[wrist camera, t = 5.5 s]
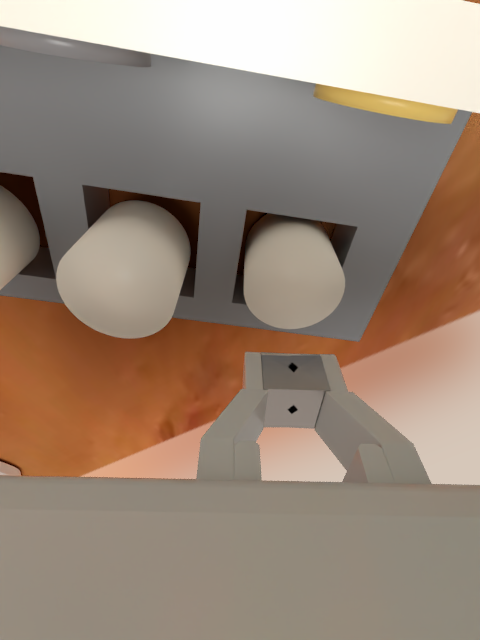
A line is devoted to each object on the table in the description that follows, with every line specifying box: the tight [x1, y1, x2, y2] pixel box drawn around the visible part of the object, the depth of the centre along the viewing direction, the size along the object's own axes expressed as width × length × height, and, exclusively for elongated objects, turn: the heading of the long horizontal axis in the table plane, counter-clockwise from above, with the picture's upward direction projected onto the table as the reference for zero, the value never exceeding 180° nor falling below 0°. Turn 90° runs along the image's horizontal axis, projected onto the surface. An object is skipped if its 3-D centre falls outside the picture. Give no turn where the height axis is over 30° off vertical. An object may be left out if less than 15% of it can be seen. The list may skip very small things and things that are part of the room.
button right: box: [244, 213, 345, 329], centre depth 16 cm, size 4×4×4 cm
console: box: [0, 0, 480, 342], centre depth 12 cm, size 13×24×12 cm, turn 82°
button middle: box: [56, 200, 191, 339], centre depth 14 cm, size 4×4×4 cm
